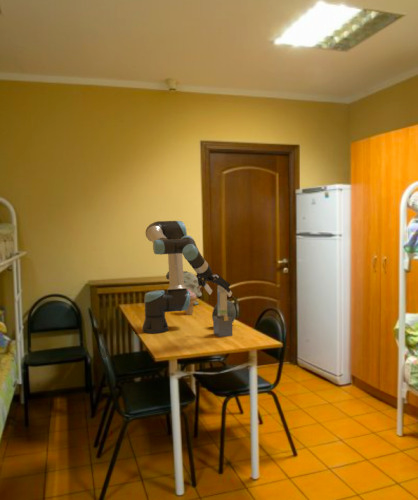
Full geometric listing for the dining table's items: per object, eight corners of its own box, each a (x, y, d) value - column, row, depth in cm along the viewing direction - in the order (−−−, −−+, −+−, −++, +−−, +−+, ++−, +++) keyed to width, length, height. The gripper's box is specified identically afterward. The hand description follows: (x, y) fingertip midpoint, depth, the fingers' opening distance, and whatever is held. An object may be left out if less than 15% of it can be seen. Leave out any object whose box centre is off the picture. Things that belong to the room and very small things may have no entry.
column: (220, 323, 243) (219, 286, 242) (217, 321, 247) (217, 285, 246) (227, 322, 244) (226, 286, 243) (224, 321, 248) (224, 285, 247)
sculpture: (203, 305, 336) (195, 266, 334) (172, 312, 337) (163, 273, 335) (205, 300, 355) (197, 264, 354) (175, 307, 357) (166, 270, 355)
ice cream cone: (179, 315, 305) (178, 286, 304) (183, 312, 316) (183, 284, 315) (194, 316, 303) (193, 286, 302) (198, 312, 313) (198, 284, 312)
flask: (207, 328, 267) (206, 291, 266) (232, 324, 274) (231, 289, 273) (216, 332, 257) (215, 294, 255) (241, 328, 264) (241, 291, 263)
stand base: (214, 341, 236) (213, 319, 235) (204, 334, 251) (204, 313, 250) (242, 338, 241) (241, 316, 240) (230, 332, 256) (230, 311, 255)
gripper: (181, 272, 237) (200, 297, 249) (218, 275, 221) (236, 301, 234) (187, 262, 241) (206, 286, 253) (224, 264, 225) (242, 290, 237)
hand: (220, 293), depth 243 cm, fingers open, 13 cm apart
